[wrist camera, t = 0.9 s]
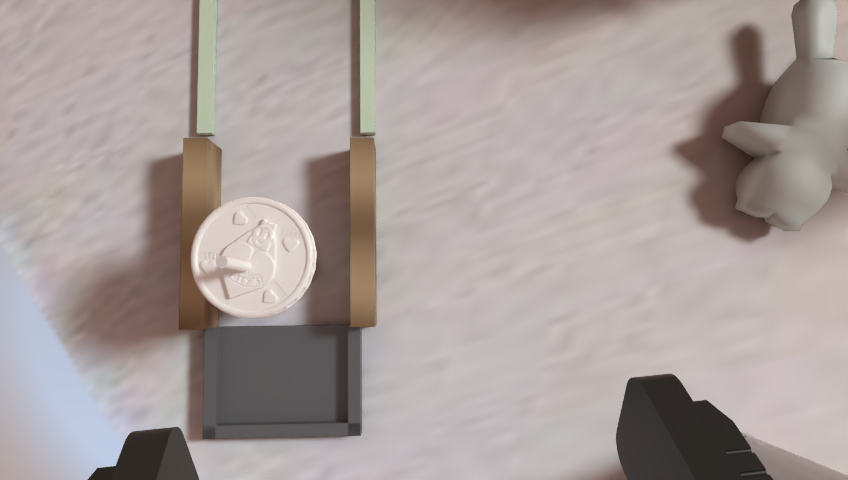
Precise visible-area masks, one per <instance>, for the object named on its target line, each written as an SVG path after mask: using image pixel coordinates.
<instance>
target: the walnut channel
mask: <svg viewBox="0 0 848 480" xmlns="http://www.w3.org/2000/svg"><path fill="white" fill-rule="evenodd" d="M221 153H222V150H221V149H220V148H219V147H218V146H217V145H215V144H214V143H213V142H212V141H210V140H209V139H208V138H183V179H182V221H181V263H180V305H179V330H183V329H208V328H213V327H218V320H219V309H218V308H217V307H215V306H214V305H212V304H211V303H210V302H209V301H208V300H207V299H206V298H205V297H204V295H203V294H202V293H201V291H200V290H199V288H198V286H197V284H196V282H195V280H194V277H193V273H192V268H191V249H192V244H193V241H194V238H195V235H196V233H197V231H198V229H199V227H200V226H201V224H202V223H203V221H204V220H205V219H206V218H207V217H208V216H209V215H210V214H211V213H212V212H213V211H214V210H216V209H217V208H218V207H220V206H221ZM376 324H377V319H376V149H375V143H374V138H350V327H375V326H376Z"/></svg>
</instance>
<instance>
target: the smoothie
mask: <svg viewBox="0 0 848 480" xmlns="http://www.w3.org/2000/svg"><path fill="white" fill-rule="evenodd" d="M316 257H317V252H316V247H315V241H314V237H313V235H312V233H311V231H310V229H309V227H308V225H307V224H306V222H305V221H304V220H303V219H302V218H301V217H300V216H299V214H298V213H297V212H295V211H294V210H292V209H291V208H289V207H288V206H286V205H285V204H283V203H280V202H277V201H274V200H271V199H267V198H262V197H244V198H239V199H235V200H232V201H230V202H227V203H225V204H223V205H222V206H220V207H218V208H217V209H216V210H214V211H213V212H212V213H211V214H210V215H209V216H208V217H207V218H206V219H205V220H204V221H203V223H202V224H201V226H200V227H199V229H198V231H197V233H196V235H195V238H194V241H193V244H192V249H191V268H192V273H193V277H194V280H195V282H196V284H197V286H198V288H199V290H200V291H201V293H202V294H203V295H204V297H205V298H206V299H207V300H208V301H209V302H210V303H211V304H212V305H214V306H215V307H217V308H218V309H220V310H221V311H223V312H225V313H228V314H231V315H234V316H238V317H244V318H263V317H268V316H273V315H276V314H278V313H280V312H282V311H284V310H286V309H288V308H290V307H291V306H292V305H293V304H294V303H295V302H297V301H298V300H299V299H300V298H301V297H302V296H303V294H304V293H305V291H306V290H307V288H308V287H309V285H310V283H311V281H312V278H313V275H314V272H315V270H316Z"/></svg>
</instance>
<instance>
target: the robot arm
mask: <svg viewBox="0 0 848 480" xmlns="http://www.w3.org/2000/svg"><path fill="white" fill-rule="evenodd" d="M616 444H617V451H618V456H619V459H620V462H621V465H622V468H623V470H624V472H625V474H626V476H627V479H628V480H848V476H847V475H845V474H842V473H840V472H837V471H835V470H832V469H830V468H827V467H825V466H823V465H820V464H818V463H815V462H813V461H810V460H808V459H805V458H803V457H800V456H798V455H795V454H793V453H790V452H788V451H785V450H783V449H781V448H778V447H775V446H773V445H770V444H768V443H765V442H763V441H760V440H758V439H755V438H753V437H751V436H748V435H746V434H743V433H741V432H740V431H739V429H738V428H737V426H736V425H735V423H734V422H733V421H732V420H731V419H729V418H728V417H727V416H726V415H724V414H723V413H722V412H721V411H719V410H718V409H717V408H716V407H714V406H713V405H712V404H711V403H709V402H708V401H707V400H703V401H694V402H693V400H692V399H691V397H690V396H689V394H688V393H687V391H686V389H685V388H684V386H683V385H682V383H681V382H680V380H679V379H678V378H677V377H676V376H675V375H673V374H663V375H653V376H644V377H634V378H630V379H629V381H628V383H627V386H626V391H625V395H624V400H623V405H622V409H621V414H620V418H619V423H618V428H617V433H616ZM88 480H199V478H198V475H197V472H196V469H195V466H194V463H193V461H192V458H191V455H190V452H189V449H188V447H187V444H186V441H185V438H184V435H183V433H182V431H181V429H180V428H179V427H172V428H162V429H153V430H143V431H134V432H131V433H130V434H129V435H128V437H127V438H126V441H125V443H124V445H123V448H122V451H121V454H120V456H119V459H118V462H117V464H116V466H113V467H104V468H97V469H96V471H95V472H94V473H93V474H92V475H91V477H90V478H89V479H88Z"/></svg>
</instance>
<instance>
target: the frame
mask: <svg viewBox="0 0 848 480" xmlns="http://www.w3.org/2000/svg"><path fill="white" fill-rule="evenodd" d="M216 29H217V0H200V5H199V51H198V97H197V134H199V135H214V134H215V82H216ZM360 133H361V135H375V0H360Z"/></svg>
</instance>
